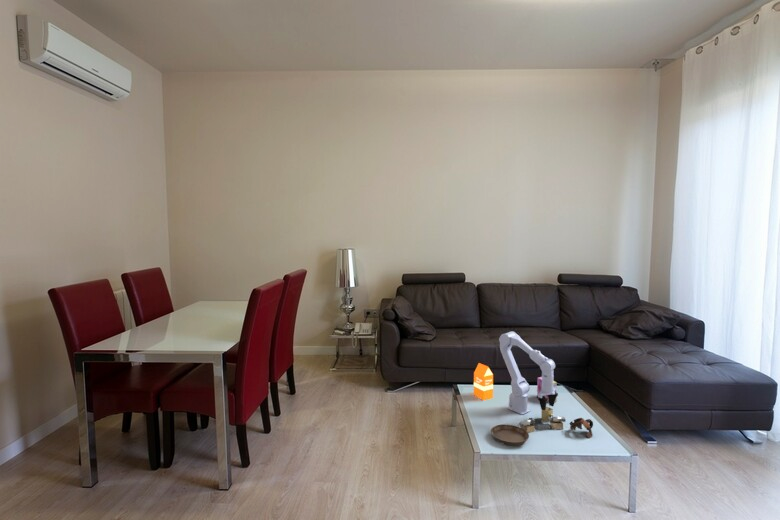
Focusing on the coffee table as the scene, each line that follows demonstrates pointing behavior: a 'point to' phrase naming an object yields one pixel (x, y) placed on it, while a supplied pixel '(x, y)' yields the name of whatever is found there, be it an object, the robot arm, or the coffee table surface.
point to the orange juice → (483, 382)
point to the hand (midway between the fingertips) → (547, 407)
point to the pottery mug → (587, 424)
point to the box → (539, 387)
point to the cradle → (540, 424)
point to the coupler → (547, 413)
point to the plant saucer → (510, 434)
